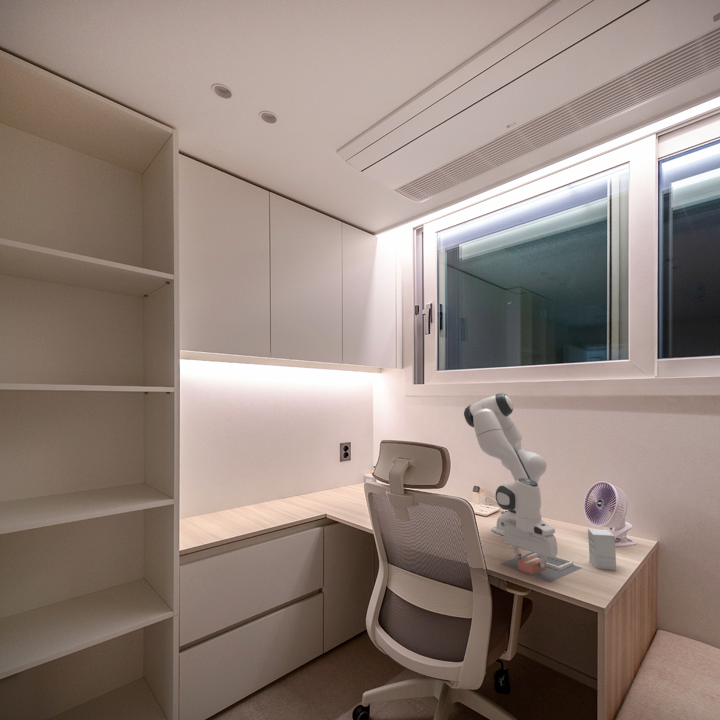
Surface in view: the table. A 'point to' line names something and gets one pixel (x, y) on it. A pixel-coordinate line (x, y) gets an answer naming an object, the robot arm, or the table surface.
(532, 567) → the card deck
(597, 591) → the table surface
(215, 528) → the table surface
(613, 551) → the supplement box
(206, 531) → the table surface
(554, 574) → the desk mat
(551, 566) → the frame
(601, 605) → the table surface
